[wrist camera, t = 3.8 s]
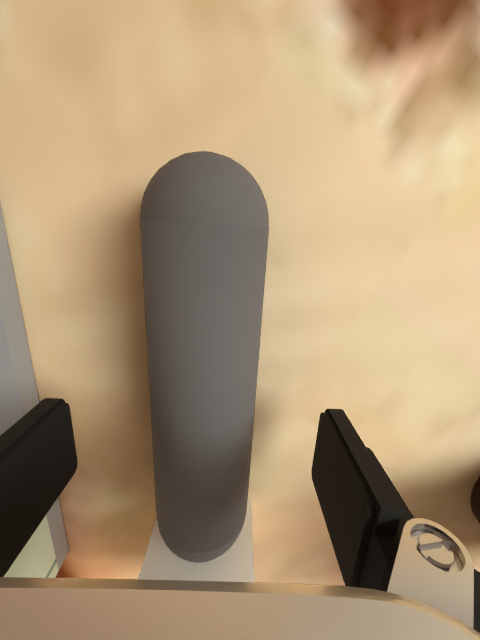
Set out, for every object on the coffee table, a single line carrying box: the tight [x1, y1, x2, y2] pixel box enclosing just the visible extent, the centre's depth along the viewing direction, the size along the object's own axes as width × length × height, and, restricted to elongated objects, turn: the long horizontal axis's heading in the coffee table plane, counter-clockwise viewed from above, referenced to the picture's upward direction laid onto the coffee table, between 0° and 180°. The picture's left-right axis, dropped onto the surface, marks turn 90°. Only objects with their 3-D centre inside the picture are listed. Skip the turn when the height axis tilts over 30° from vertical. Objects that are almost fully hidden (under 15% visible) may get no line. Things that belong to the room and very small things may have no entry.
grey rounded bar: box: [139, 151, 269, 582], centre depth 11 cm, size 19×5×5 cm, turn 177°
